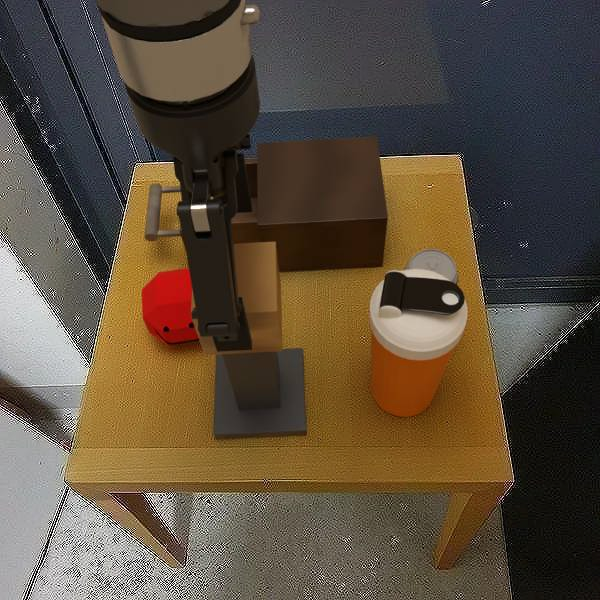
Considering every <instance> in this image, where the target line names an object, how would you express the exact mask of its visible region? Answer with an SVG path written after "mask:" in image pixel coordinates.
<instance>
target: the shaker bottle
mask: <svg viewBox="0 0 600 600" xmlns="http://www.w3.org/2000/svg"><path fill="white" fill-rule="evenodd" d="M465 297H466V296H465V294H464V291H463V289H461V287H460V286H459V285H458V284H457V285H456V284H455V283H454V282H451V281H450V280H449V279H447V278H446V277H444V276H443V275H440V274H438V273H436V272H433V271H429V270H425V269H408V270H404V269H402V270H398V269H396V270H395V269H394V270H389V271H387V272H386V273H385V275H384V279H382V280H381V282H380V283H379V284H378V285H377V286H376V288H375V289H374V291H373V292H372V295H371V298H370V301H369V309H368V323H369V328H370V334H371V335H370V387H371V388H370V389H371V395H372V397H373V399H374V401H375V403H376V404H377V405H378V406H379V407H380V409H382V410H383V411H384V412H386V413H387V414H390V415H391V416H396V417H399V418H400V417H402V418H410V417H413V416H417V415H419V414H421V413H424V411H425V410H427V409H428V407H429V406H430V405H431V404H432V402H433V400H434V397H435V395H436V393H437V391H438V388H439V385H440V383H441V381H442V378H443V377H444V374H445V371H446V369H447V367H448V364H449V362H450V359H451V357H452V355H453V352H454V350H455V348H456V346H457V345H458V344H459V343H460V341H461V339H462V338H463V336H464V333H465V328H466V325H467V320H468V305H467V301H466V298H465Z"/></svg>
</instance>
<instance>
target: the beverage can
mask: <svg viewBox="0 0 600 600" xmlns="http://www.w3.org/2000/svg"><path fill="white" fill-rule="evenodd" d="M408 269H425V270H429V271H433V272H436V273H438V274H440V275H443V276H444V277H446V278H447V279H449V280H450V281H451V282H454V283H455V284H456V285H458V283H459V271H458V269H457V265H456V262H455V261H454V259H453V257H452V256H451V255H449V254H448V253H447V252H446V251H443V250H440V249H437V248H425V249H422V250H419V251H418V252H416V253H415V254H413V256H412V257H411V258H410V259H409V260H408V262H406V264H405V267H404V269H403V270H408Z"/></svg>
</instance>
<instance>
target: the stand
mask: <svg viewBox="0 0 600 600" xmlns="http://www.w3.org/2000/svg"><path fill="white" fill-rule="evenodd" d="M304 359H305V358H304V348H303V347H296V348H295V347H294V348H293V347H292V348H283V351H277V352H257V353H238V354H218V355H215V372H214V373H215V374H214V400H213V401H214V403H213V437H214V439H215V440H235V439H255V438H273V437H274V438H275V437H277V438H278V437H291V436H292V437H297V436H307V408H306V388H305V387H306V386H305V383H306V382H305V364H304V363H305V362H304Z"/></svg>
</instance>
